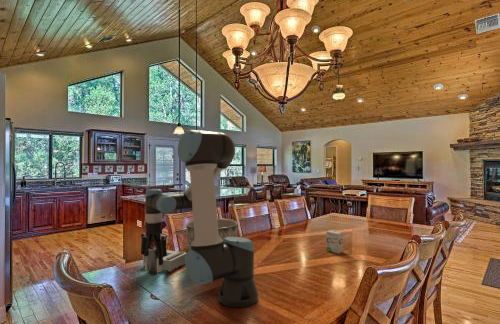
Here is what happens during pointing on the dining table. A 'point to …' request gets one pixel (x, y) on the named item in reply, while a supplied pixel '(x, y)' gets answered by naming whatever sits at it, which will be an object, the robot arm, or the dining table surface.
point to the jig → (172, 260)
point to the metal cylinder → (152, 260)
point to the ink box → (334, 241)
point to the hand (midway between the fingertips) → (153, 270)
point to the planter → (224, 229)
